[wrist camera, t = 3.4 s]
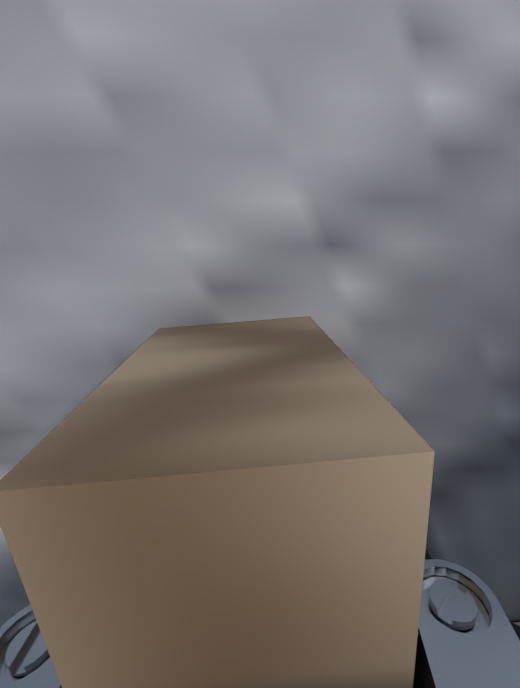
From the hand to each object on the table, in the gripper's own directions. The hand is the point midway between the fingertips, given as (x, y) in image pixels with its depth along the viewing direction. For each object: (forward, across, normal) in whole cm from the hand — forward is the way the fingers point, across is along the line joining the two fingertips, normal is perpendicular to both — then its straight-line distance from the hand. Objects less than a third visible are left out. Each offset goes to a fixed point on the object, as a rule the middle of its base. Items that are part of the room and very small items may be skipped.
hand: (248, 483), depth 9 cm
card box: (+1, 0, 0) cm, 1 cm away
